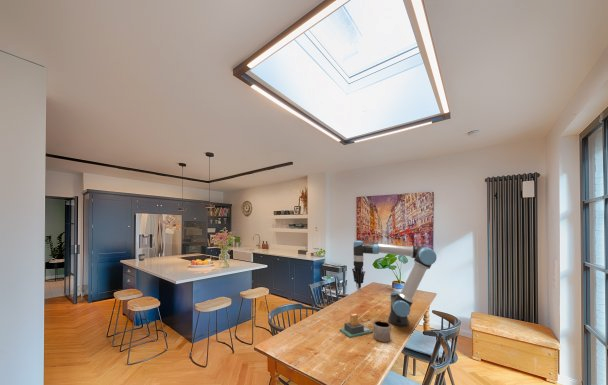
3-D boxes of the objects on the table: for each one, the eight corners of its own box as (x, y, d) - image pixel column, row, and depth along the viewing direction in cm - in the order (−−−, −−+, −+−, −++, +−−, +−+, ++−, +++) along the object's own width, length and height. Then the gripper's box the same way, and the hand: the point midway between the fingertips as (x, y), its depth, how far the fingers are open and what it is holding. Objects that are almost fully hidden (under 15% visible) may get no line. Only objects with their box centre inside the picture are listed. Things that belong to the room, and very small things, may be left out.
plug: (355, 328, 182) (355, 313, 183) (357, 329, 180) (357, 314, 181) (350, 329, 180) (350, 314, 181) (352, 330, 178) (352, 315, 179)
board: (361, 326, 190) (362, 319, 191) (372, 333, 180) (372, 325, 180) (339, 330, 182) (339, 323, 182) (349, 338, 171) (349, 329, 172)
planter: (379, 343, 165) (379, 328, 166) (370, 335, 175) (370, 321, 176) (393, 341, 168) (393, 326, 169) (384, 334, 178) (384, 320, 179)
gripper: (349, 259, 203) (349, 290, 201) (360, 262, 192) (360, 294, 189) (356, 259, 207) (356, 289, 204) (367, 261, 195) (368, 293, 193)
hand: (358, 291), depth 197 cm, fingers closed
